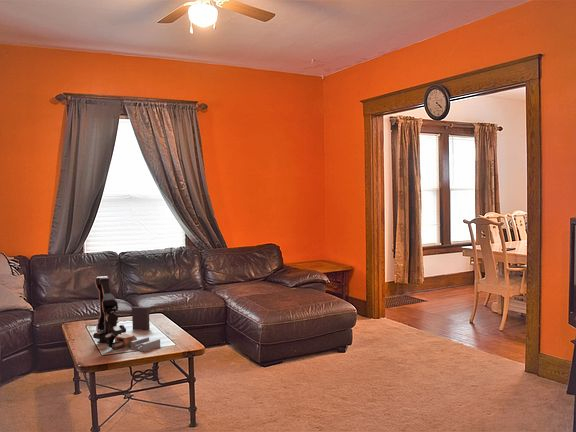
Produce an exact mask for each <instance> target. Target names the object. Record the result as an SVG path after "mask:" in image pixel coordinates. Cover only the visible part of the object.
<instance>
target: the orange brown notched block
mask: <svg viewBox="0 0 576 432" xmlns="http://www.w3.org/2000/svg"><path fill="white" fill-rule="evenodd" d="M135 337H136V335H135V334H129V333H126V332H125V333H121V334H119V335H118V336H116V337H115V339H114V342H117V341H120V340H123V347H122V349H128V348H131V341H135Z"/></svg>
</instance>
